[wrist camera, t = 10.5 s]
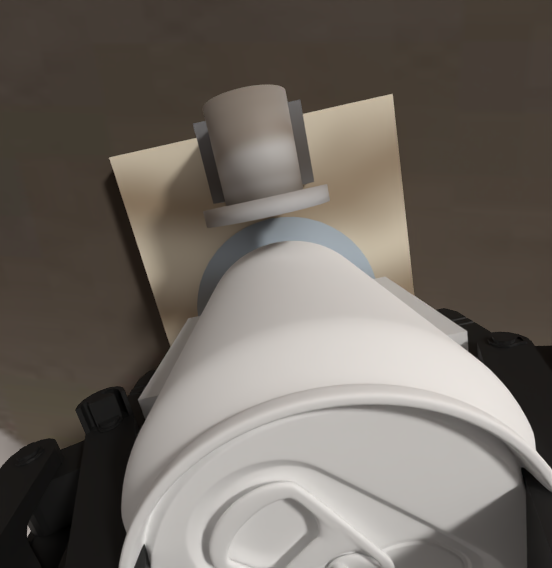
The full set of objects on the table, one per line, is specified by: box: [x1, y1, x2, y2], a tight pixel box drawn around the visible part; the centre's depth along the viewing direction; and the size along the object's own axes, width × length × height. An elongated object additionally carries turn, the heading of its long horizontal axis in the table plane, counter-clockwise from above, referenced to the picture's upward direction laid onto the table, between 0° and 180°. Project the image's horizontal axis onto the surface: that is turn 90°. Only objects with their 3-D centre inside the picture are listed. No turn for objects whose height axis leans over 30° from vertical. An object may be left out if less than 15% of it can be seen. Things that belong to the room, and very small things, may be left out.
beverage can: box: [119, 241, 552, 568], centre depth 11 cm, size 8×8×12 cm
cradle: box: [109, 85, 414, 347], centre depth 16 cm, size 19×14×8 cm
